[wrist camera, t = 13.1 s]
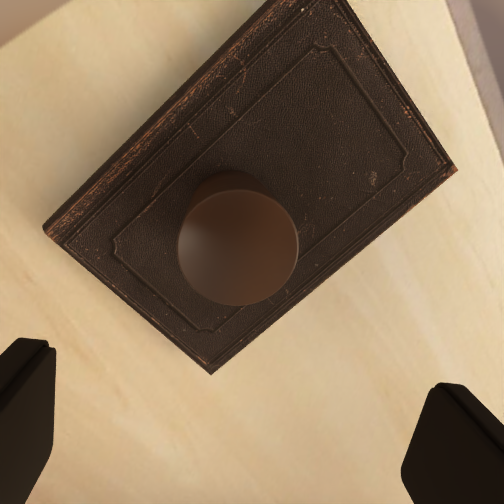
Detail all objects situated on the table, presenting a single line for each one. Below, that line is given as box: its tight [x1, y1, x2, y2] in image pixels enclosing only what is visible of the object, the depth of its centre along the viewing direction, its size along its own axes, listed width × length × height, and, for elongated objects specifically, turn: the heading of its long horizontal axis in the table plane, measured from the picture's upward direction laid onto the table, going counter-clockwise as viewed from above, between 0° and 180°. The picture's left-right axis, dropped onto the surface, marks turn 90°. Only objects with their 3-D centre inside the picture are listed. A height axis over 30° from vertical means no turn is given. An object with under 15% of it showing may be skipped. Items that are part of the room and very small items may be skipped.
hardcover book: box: [42, 0, 458, 375], centre depth 25 cm, size 16×23×2 cm
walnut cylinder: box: [176, 171, 299, 306], centre depth 20 cm, size 6×6×8 cm
